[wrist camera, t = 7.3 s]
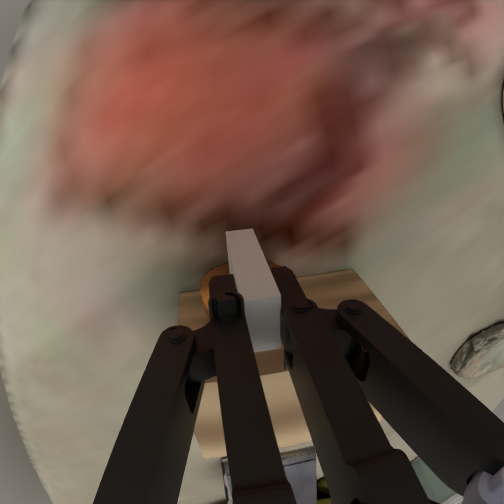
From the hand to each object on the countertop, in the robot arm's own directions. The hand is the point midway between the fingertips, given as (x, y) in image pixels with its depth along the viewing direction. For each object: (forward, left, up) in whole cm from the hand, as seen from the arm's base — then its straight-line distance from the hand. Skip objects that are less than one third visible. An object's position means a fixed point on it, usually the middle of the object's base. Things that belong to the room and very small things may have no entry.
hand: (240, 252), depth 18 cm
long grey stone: (-3, +46, -3) cm, 46 cm away
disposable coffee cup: (+28, +55, -2) cm, 62 cm away
